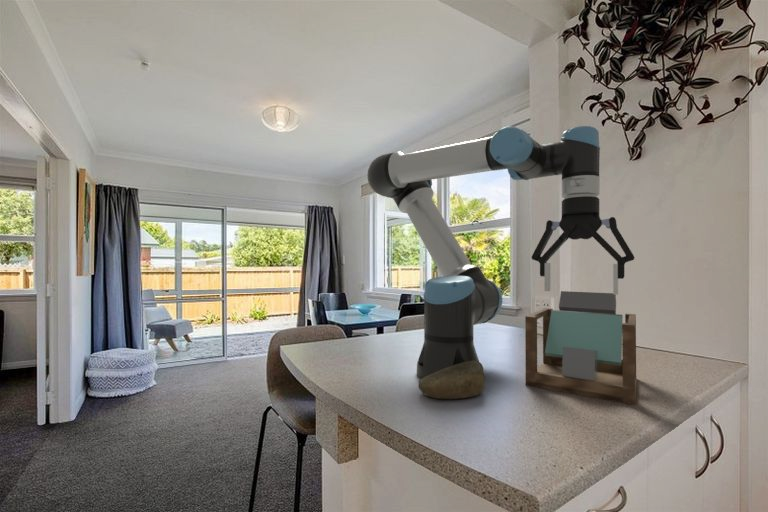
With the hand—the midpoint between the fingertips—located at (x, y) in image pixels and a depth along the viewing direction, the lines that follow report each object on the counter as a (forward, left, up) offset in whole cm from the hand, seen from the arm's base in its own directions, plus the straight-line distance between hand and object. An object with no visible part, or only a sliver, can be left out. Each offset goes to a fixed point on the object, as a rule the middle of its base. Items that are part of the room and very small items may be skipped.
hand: (580, 292), depth 83 cm
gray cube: (0, -1, -15) cm, 15 cm away
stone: (-20, -23, -21) cm, 37 cm away
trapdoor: (0, +9, -10) cm, 13 cm away
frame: (0, +2, -20) cm, 20 cm away
